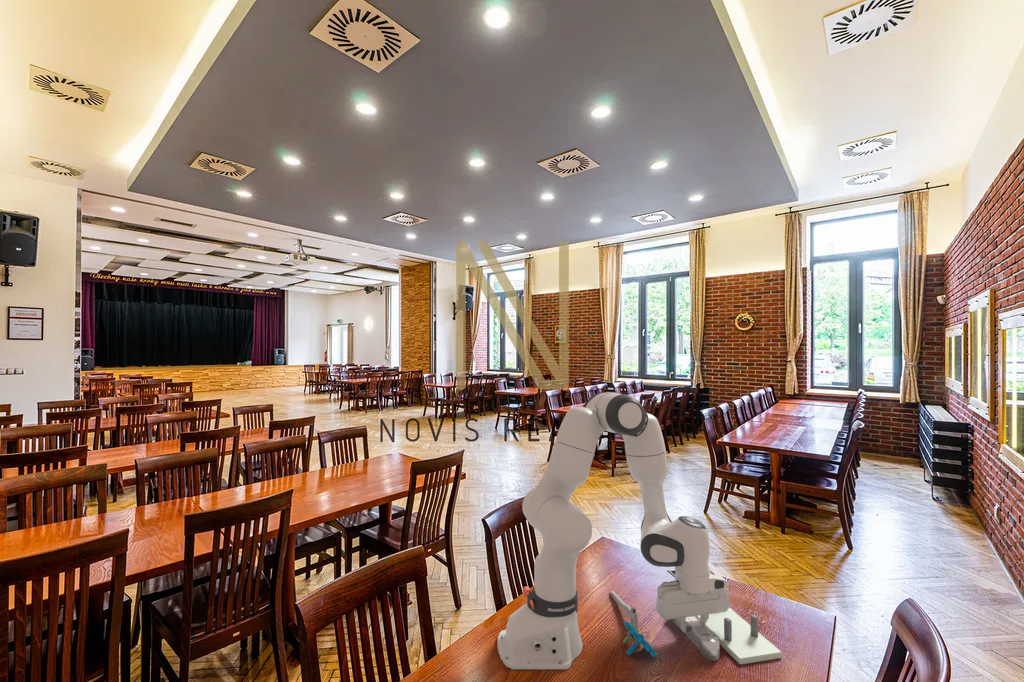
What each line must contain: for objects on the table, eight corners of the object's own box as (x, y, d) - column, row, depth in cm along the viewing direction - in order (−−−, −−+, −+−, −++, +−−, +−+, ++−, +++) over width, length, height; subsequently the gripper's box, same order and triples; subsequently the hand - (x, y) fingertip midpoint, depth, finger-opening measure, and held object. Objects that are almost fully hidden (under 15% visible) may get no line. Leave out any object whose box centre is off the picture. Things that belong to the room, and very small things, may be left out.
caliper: (638, 634, 120) (638, 611, 120) (634, 634, 120) (634, 611, 120) (612, 593, 140) (612, 573, 140) (608, 593, 140) (608, 573, 140)
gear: (665, 660, 107) (635, 630, 108) (649, 680, 106) (620, 650, 107) (647, 637, 118) (620, 610, 119) (633, 655, 117) (606, 628, 118)
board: (739, 664, 108) (739, 638, 108) (676, 600, 135) (676, 579, 136) (781, 657, 110) (781, 632, 110) (711, 596, 138) (710, 575, 138)
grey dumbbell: (708, 661, 109) (708, 645, 109) (667, 615, 128) (666, 601, 128) (723, 659, 110) (723, 643, 110) (679, 613, 129) (679, 600, 129)
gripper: (663, 589, 114) (664, 642, 114) (732, 581, 118) (733, 632, 118) (651, 576, 120) (652, 627, 120) (717, 569, 124) (718, 618, 124)
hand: (692, 629), depth 119 cm, fingers closed on grey dumbbell, 3 cm apart
